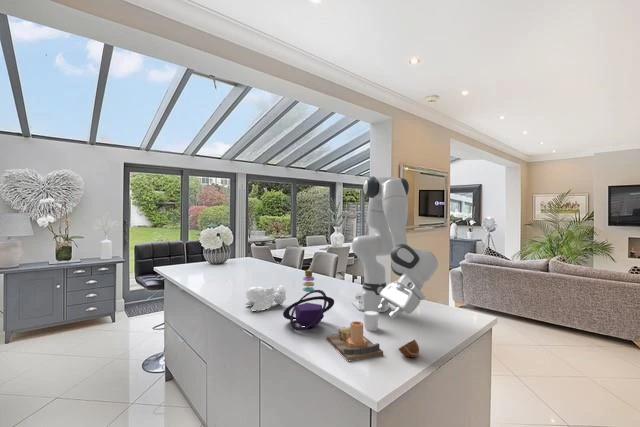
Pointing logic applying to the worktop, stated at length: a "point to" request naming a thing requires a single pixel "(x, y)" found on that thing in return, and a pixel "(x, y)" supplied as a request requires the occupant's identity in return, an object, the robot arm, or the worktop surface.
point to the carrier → (353, 353)
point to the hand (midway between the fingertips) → (385, 313)
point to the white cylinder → (371, 320)
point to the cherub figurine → (265, 297)
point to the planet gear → (356, 336)
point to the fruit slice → (410, 349)
